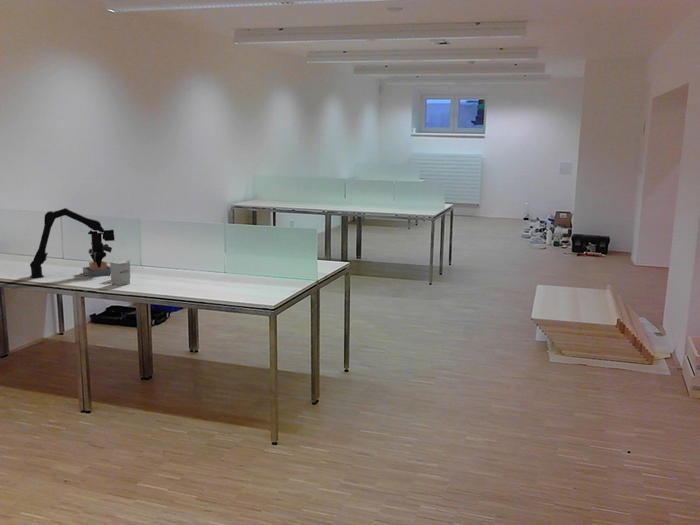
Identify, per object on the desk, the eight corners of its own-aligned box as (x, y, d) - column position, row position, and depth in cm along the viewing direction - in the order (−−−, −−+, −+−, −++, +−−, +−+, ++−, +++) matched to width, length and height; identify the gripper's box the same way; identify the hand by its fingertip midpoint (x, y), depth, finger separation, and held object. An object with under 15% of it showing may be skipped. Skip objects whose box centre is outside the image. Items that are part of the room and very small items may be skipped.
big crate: (83, 273, 386) (82, 267, 385) (107, 270, 394) (107, 265, 394) (88, 276, 374) (88, 271, 373) (113, 274, 382) (113, 268, 382)
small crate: (89, 269, 384) (88, 262, 383) (104, 268, 389) (104, 261, 388) (91, 271, 379) (91, 263, 378) (107, 269, 384) (106, 262, 383)
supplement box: (119, 286, 349) (118, 263, 347) (111, 284, 353) (109, 262, 351) (130, 283, 355) (129, 261, 353) (121, 282, 359) (120, 260, 357)
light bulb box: (121, 281, 363) (120, 262, 361) (110, 280, 364) (109, 262, 362) (131, 277, 373) (130, 259, 371) (120, 277, 374) (119, 259, 373)
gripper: (114, 242, 378) (115, 267, 380) (106, 238, 393) (107, 263, 395) (95, 243, 371) (96, 269, 374) (87, 239, 387) (89, 264, 389)
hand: (98, 266), depth 383 cm, fingers closed on small crate, 6 cm apart
